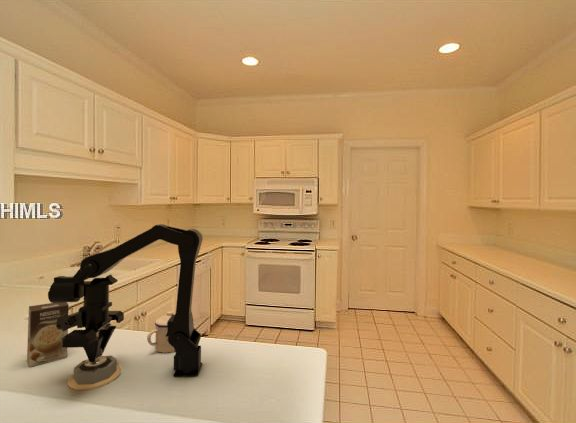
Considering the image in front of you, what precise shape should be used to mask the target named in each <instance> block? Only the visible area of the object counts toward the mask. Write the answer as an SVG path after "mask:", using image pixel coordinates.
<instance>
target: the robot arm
mask: <svg viewBox="0 0 576 423" xmlns="http://www.w3.org/2000/svg"><path fill="white" fill-rule="evenodd" d="M159 240H160V241H164V242H167V243H170V244H172V245H176V246H177V251H178V255H179V256H178V257H179V261H180V265H179V276H178V284H177V285H178V286H177V295H176V296H177V298H176V308H175V313H173V314H172V316H171V317H170V319H169V320H168V322H167V328H168V331H167V334H166V336H165V337H167V336H168V342H169V344H170V345H171V346H172V347H174V349H175V351H174V352H175V354H174V356H173V371H174V373H173V377H177V378H178V377H197V376H198V375H199V373H200V371H201V368H202V366H203V362H202V345H199V344H200V342H201V338H202V333H200V332H199V331H198V330H197V329H195V325H194V316H193V311H192V304H193V303H192V302H193V295H194V286H195V284H194V282H195V273H196V262H197V259H198V256H199V253H200V250H201V247H202V244H203V240H204V239H203V235H202V233H201V232H200V231H199V230H197V229H195V228H189V229H183V228H177V227H173V226H169V225H166V224H163V223H160V224H156V225H155V224H154V225H153V226H152V227H151V228H149V229H147V230H146V231H144V232H142V233H140V234H138V235H136V236H134V237H133V238H130V239H128V240H126V241H125V242H122V243H121V244H119V245H117V246H115V247H113V248H110V249H108V250H107V249H106V250H105V251H102V252H98V253H94V254H92V255H89V256H86V257H85V258H83V259H82V260H81V261H80V265H79V268H78V270H77V271H76V273H75V274H74V275H72V276H65V275H57V276H55V277H54V278H53V282H52V284H51V285H50V287H49V290H48V293H47V297H48V299H47V300H48V301H49V303H62V302H67V303H78V302H79V301H80V300H81V299H82V298H83V306H81V307H79V308H78V311H76V312H74V313H71V314H69V313H68V314H65V315H63V316H60V317H58V318H57V323H56V327H57V328H58V329H59V330H61V329H62V331H66V330H67V329H68V330H70V329H72V328H75V327H76V328H77V329H73V330H72V331H70V332H68V334H67V335H65V336H64V337H63V338H62V348H68V349H71V348H74V349H75V348H83V350H84V351H85V354H86V357H87V359H89V362H95V360H96V357H97V354H98V351H99V348H100V347H101V348H102V354H101V356H103V354H104V352H105V351H106V350H105V349H106V347H107V345H108V343H109V341H110V340H111V337H112V336H113V333H114V332H115V330H116V328H117V325H112V323H111V321H116V324H120V323H121V322H123V321H124V320H125V313H124V312H122V310H109V308H111V307H112V306H113V302H112V301H110V286H113V285H115V284H116V283H118V279H117V278H116V277H114V276H113V275H112V274H110V273H109V275H106V276H105V277H99V276H102V275H104V274H106V273H108V272H109V271H111V270H112V269H113V268H115V267H116V266H117V265H119V264H120V262H122V261H123V260H124V259H126V258H127V257H129V256H130V257H131V255H134V254H135V253H137V252H138V251H141V250H143V249H144V248H146V247H148V246H150V245H153V243H156V242H158V241H159ZM89 279H92V280H89ZM174 314H175V315H174ZM82 328H84V329H82Z"/></svg>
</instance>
